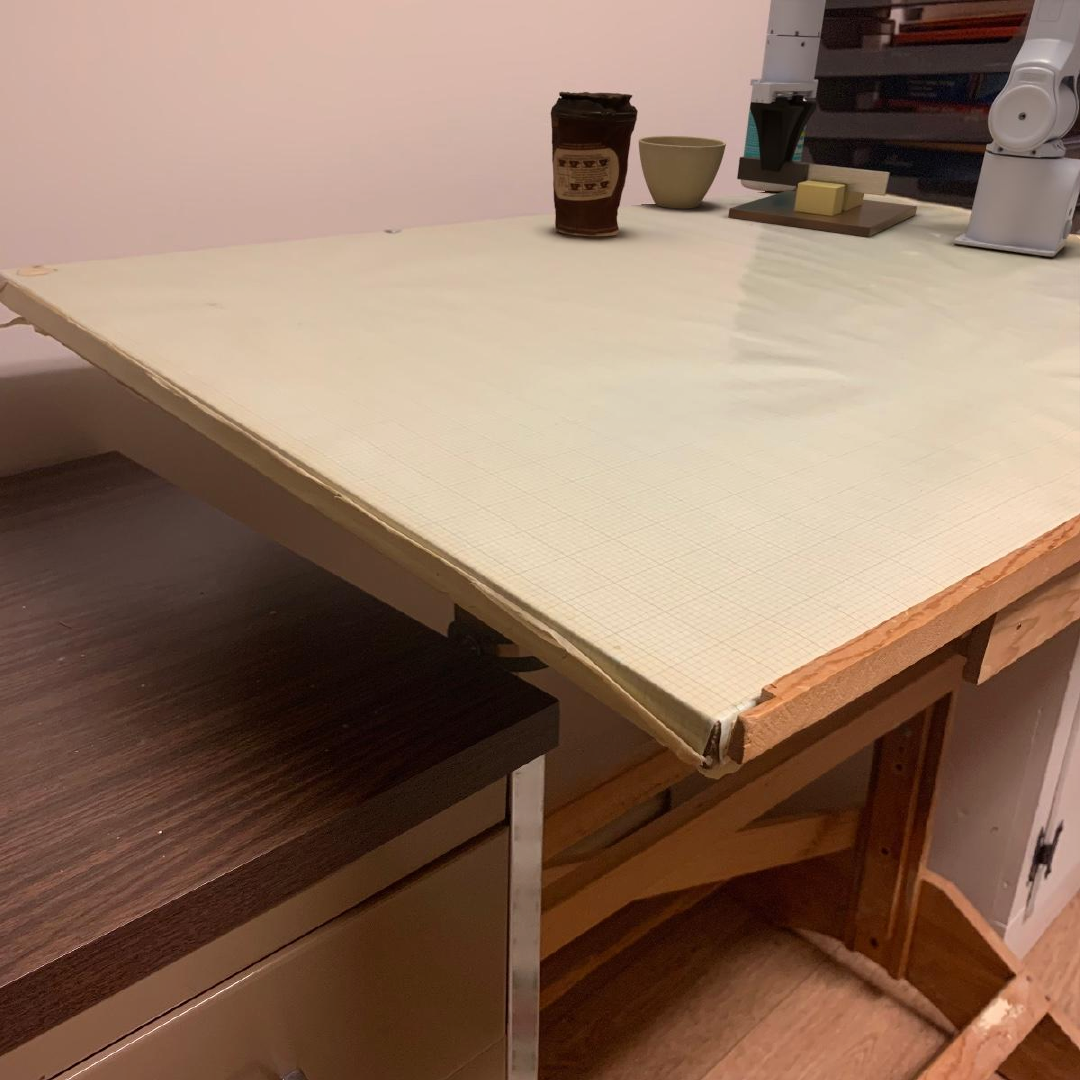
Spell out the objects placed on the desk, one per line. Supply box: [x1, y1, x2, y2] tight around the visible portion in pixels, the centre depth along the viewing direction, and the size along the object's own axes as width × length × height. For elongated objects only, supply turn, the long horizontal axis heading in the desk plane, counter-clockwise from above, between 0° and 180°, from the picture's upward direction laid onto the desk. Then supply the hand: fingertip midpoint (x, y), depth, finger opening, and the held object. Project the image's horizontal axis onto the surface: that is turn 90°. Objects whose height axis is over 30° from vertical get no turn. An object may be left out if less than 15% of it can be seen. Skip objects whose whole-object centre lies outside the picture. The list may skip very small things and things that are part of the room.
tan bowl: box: [638, 135, 727, 209], centre depth 115 cm, size 10×10×7 cm
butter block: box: [841, 191, 865, 211], centre depth 114 cm, size 4×6×3 cm
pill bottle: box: [740, 92, 807, 193], centre depth 128 cm, size 8×7×14 cm
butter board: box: [727, 190, 918, 238], centre depth 114 cm, size 16×18×1 cm
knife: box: [736, 155, 891, 197], centre depth 111 cm, size 17×2×2 cm, turn 56°
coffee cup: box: [550, 91, 639, 237], centre depth 97 cm, size 9×8×13 cm
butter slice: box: [794, 180, 846, 216], centre depth 109 cm, size 4×3×3 cm
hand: (774, 169), depth 113 cm, fingers closed on knife, 2 cm apart
